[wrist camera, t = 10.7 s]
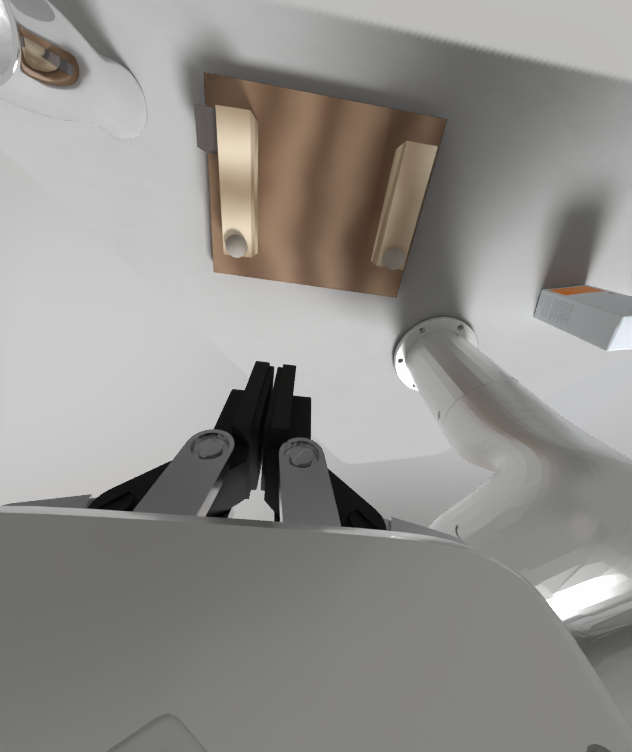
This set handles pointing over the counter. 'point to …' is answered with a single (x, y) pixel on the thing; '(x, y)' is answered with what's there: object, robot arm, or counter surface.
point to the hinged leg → (238, 180)
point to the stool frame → (325, 185)
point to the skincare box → (589, 315)
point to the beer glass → (64, 72)
